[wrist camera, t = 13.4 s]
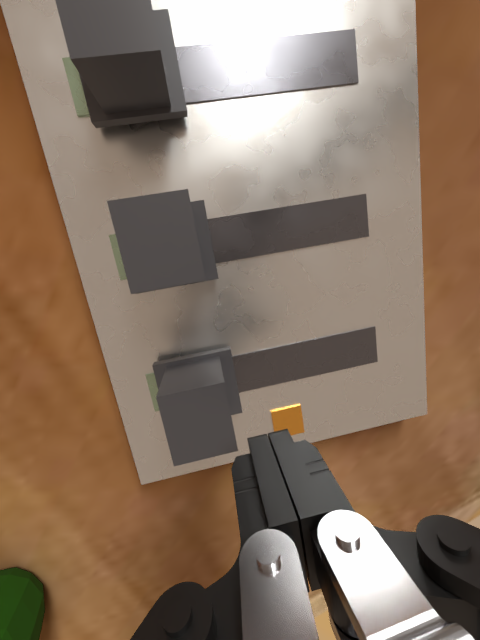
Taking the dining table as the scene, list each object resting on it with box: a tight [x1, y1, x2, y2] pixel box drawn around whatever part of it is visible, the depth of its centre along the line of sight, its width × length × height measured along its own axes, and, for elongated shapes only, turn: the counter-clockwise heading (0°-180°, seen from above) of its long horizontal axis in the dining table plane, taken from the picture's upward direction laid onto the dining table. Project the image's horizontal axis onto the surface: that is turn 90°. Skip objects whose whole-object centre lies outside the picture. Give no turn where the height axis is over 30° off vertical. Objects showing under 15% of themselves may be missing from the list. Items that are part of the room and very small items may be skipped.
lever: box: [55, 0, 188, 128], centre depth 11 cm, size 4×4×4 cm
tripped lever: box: [152, 346, 243, 466], centre depth 15 cm, size 4×4×4 cm
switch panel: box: [0, 0, 427, 485], centre depth 17 cm, size 20×28×2 cm
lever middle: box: [107, 189, 219, 294], centre depth 13 cm, size 4×4×4 cm
